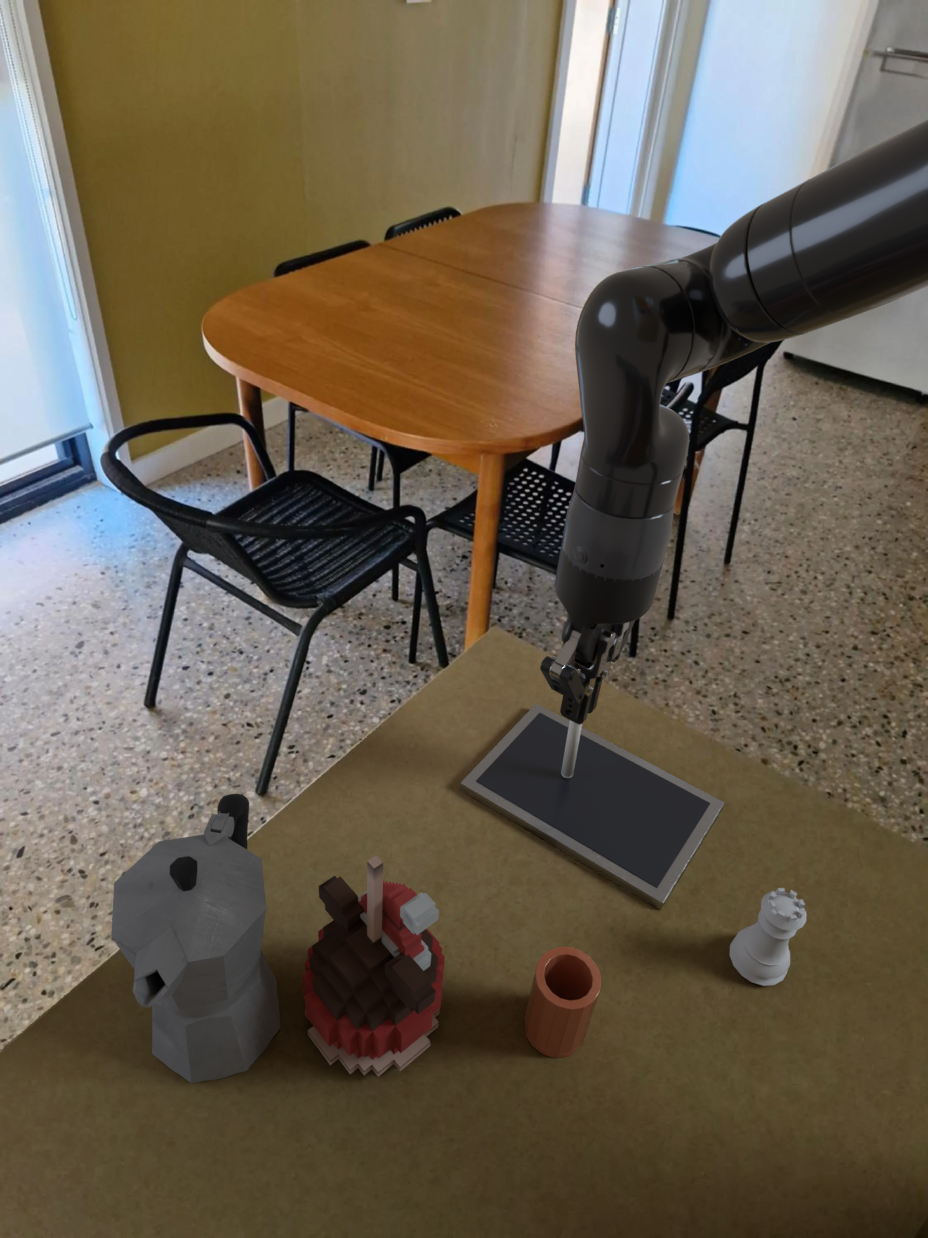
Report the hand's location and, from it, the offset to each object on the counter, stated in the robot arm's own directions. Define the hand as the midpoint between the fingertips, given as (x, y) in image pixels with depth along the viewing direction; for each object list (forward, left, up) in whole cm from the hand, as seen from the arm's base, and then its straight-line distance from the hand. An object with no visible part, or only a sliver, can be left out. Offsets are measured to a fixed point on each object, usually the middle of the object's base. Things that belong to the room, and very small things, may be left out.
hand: (577, 712), depth 76 cm
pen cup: (-11, +20, -9) cm, 25 cm away
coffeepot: (+9, +33, -9) cm, 36 cm away
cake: (0, +27, -9) cm, 29 cm away
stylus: (0, 0, -8) cm, 8 cm away
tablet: (-3, 0, -9) cm, 10 cm away
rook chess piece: (-21, +6, -9) cm, 24 cm away
